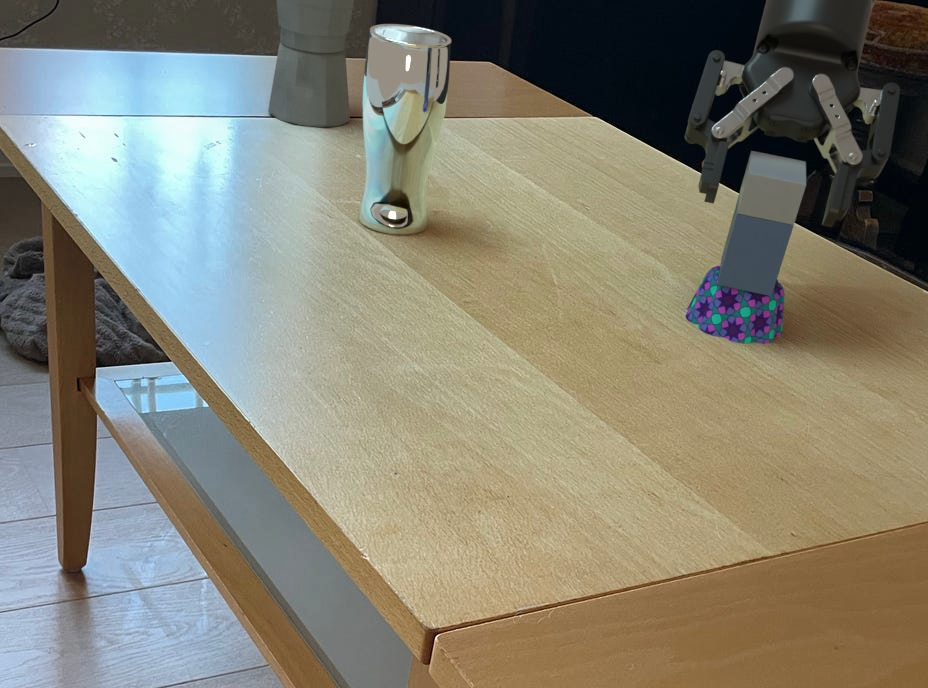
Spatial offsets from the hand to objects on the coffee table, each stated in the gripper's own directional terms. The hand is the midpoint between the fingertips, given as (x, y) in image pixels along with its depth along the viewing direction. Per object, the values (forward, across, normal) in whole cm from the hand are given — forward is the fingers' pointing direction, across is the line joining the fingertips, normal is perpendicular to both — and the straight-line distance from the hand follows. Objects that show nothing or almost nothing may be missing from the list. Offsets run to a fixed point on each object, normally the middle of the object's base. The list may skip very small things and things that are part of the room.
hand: (769, 209), depth 82 cm
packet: (+3, 0, -5) cm, 6 cm away
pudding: (+7, 0, -8) cm, 11 cm away
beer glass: (-1, +30, -16) cm, 34 cm away
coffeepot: (-20, +48, -35) cm, 63 cm away
